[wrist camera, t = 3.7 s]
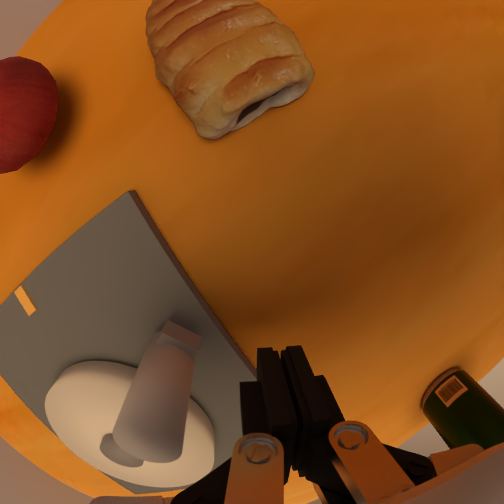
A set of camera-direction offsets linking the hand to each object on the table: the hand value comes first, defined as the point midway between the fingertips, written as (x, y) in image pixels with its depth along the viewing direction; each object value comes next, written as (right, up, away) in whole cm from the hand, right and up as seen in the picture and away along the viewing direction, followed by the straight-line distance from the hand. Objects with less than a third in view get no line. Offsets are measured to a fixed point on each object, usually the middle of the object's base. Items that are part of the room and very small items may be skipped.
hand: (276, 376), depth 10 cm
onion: (-13, +12, +1) cm, 18 cm away
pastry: (-3, +15, +2) cm, 15 cm away
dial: (-8, -5, +5) cm, 11 cm away
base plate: (-10, -6, +6) cm, 13 cm away
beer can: (+16, -8, +9) cm, 20 cm away
